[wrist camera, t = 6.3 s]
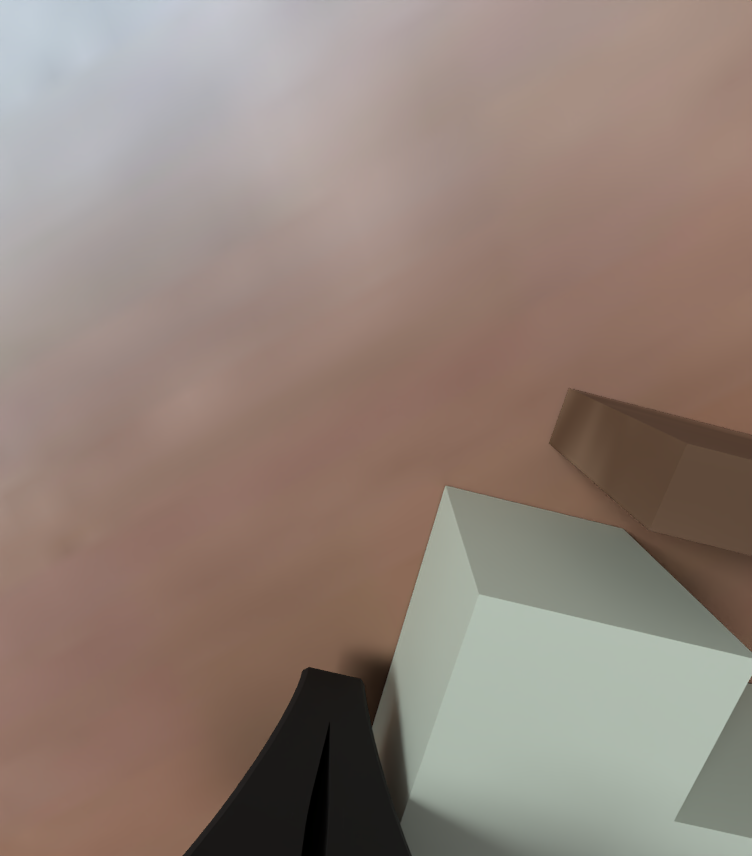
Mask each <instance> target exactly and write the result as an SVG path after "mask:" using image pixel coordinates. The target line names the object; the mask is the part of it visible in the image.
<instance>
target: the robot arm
mask: <svg viewBox="0 0 752 856" xmlns="http://www.w3.org/2000/svg"><path fill="white" fill-rule="evenodd" d="M183 856H412V855H411V852H410V850H409V847H408V844H407V842H406V839H405V836H404V834H403V831H402V828H401V825H400V822H399V819H398V816H397V813H396V810H395V808H394V805H393V801H392V798H391V795H390V792H389V789H388V786H387V782H386V779H385V775H384V772H383V768H382V765H381V761H380V758H379V754H378V750H377V746H376V743H375V739H374V734H373V730H372V726H371V721H370V716H369V711H368V706H367V700H366V693H365V685H364V683H363V682H362V680H361V679H359V678H354V677H350V676H346V675H341V674H337V673H332V672H328V671H324V670H319V669H315V668H311V667H308V668H306V669H304V670H303V671H302V674H301V678H300V681H299V683H298V686H297V688H296V690H295V693H294V695H293V697H292V699H291V701H290V703H289V705H288V707H287V709H286V710H285V712H284V714H283V716H282V718H281V720H280V721H279V723H278V725H277V726H276V728H275V730H274V731H273V733H272V735H271V736H270V738H269V740H268V741H267V743H266V744H265V746H264V748H263V749H262V751H261V752H260V754H259V756H258V757H257V758H256V760H255V761H254V763H253V764H252V766H251V767H250V769H249V770H248V771H247V773H246V774H245V776H244V777H243V779H242V780H241V782H240V783H239V784H238V786H237V787H236V789H235V790H234V792H233V793H232V794H231V796H230V797H229V798H228V800H227V801H226V802H225V804H224V805H223V806H222V808H221V809H220V810H219V812H218V813H217V814H216V815H215V817H214V818H213V819H212V821H211V822H210V823H209V824H208V826H207V827H206V828H205V829H204V831H203V832H202V833H201V834H200V836H199V837H198V838H197V839H196V841H195V842H194V843H193V844H192V845H191V847H190V848H189V849H188V850H187V851H186V853H185V854H184V855H183Z"/></svg>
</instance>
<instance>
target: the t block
mask: <svg viewBox="0 0 752 856" xmlns="http://www.w3.org/2000/svg"><path fill="white" fill-rule="evenodd" d="M751 676H752V652H751V651H750V650H749V649H748V648H746V647H745V646H744V645H743V644H742V643H741V642H740V641H739V640H738V639H737V638H736V637H735V636H734V635H733V634H732V633H731V632H730V631H729V630H728V629H727V628H726V627H725V626H724V625H723V624H722V623H721V622H719V621H718V620H717V619H716V618H715V617H714V616H713V615H712V614H711V613H710V612H709V611H708V610H707V609H706V608H705V607H704V606H703V605H702V604H701V603H700V602H699V601H698V600H697V599H696V598H695V597H693V596H692V595H691V594H690V593H689V592H688V591H687V590H686V589H685V588H684V587H683V586H682V585H681V584H680V583H679V582H678V581H677V580H676V579H675V578H674V577H673V576H672V575H671V574H670V573H669V572H668V571H666V570H665V569H664V568H663V567H662V566H661V565H660V564H659V563H658V562H657V561H656V560H655V559H654V558H653V557H652V556H651V555H650V554H649V553H648V552H647V551H646V550H645V549H644V548H643V547H642V546H640V545H639V544H638V543H637V542H636V541H635V540H634V539H633V538H632V537H631V536H630V535H629V534H628V533H627V532H626V531H625V530H624V529H622V528H618V527H614V526H610V525H606V524H602V523H598V522H593V521H589V520H585V519H581V518H577V517H573V516H569V515H565V514H561V513H556V512H552V511H548V510H544V509H540V508H536V507H532V506H528V505H524V504H519V503H515V502H511V501H507V500H503V499H499V498H495V497H491V496H486V495H482V494H478V493H474V492H470V491H466V490H462V489H458V488H454V487H449V486H445V489H444V492H443V495H442V499H441V502H440V505H439V509H438V512H437V515H436V518H435V522H434V525H433V528H432V532H431V535H430V538H429V542H428V545H427V548H426V551H425V555H424V558H423V561H422V565H421V568H420V571H419V574H418V578H417V581H416V584H415V588H414V591H413V594H412V598H411V601H410V604H409V607H408V611H407V614H406V617H405V621H404V624H403V627H402V631H401V634H400V637H399V640H398V644H397V647H396V650H395V654H394V657H393V660H392V663H391V667H390V670H389V673H388V677H387V680H386V683H385V687H384V690H383V693H382V696H381V700H380V703H379V706H378V710H377V713H376V716H375V720H374V723H373V726H372V730H373V734H374V739H375V743H376V746H377V750H378V754H379V758H380V761H381V765H382V768H383V772H384V775H385V779H386V782H387V786H388V789H389V792H390V795H391V798H392V801H393V805H394V808H395V810H396V813H397V816H398V819H399V822H400V825H401V828H402V831H403V834H404V836H405V839H406V842H407V844H408V847H409V850H410V852H411V855H412V856H752V684H750V683H748V681H749V679H750V678H751Z"/></svg>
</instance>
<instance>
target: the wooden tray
mask: <svg viewBox="0 0 752 856" xmlns="http://www.w3.org/2000/svg"><path fill="white" fill-rule="evenodd" d="M549 443H550V444H551V445H552V446H553V447H554V448H555V449H556V450H558V451H559V452H560V453H561V454H562V455H563V456H564V457H566V458H567V459H568V460H569V461H570V462H571V463H572V464H574V465H575V466H576V467H577V468H578V469H579V470H580V471H582V472H583V473H584V474H585V475H586V476H587V477H588V478H590V479H591V480H592V481H593V482H594V483H595V484H597V485H598V486H599V487H600V488H601V489H602V490H603V491H605V492H606V493H607V494H608V495H609V496H610V497H611V498H613V499H614V500H615V501H616V502H617V503H618V504H619V505H621V506H622V507H623V508H624V509H625V510H626V511H627V512H629V513H630V514H631V515H632V516H633V517H634V518H635V519H637V520H638V521H639V522H640V523H641V524H642V525H643V526H645V527H646V528H647V529H648V530H649V531H653V532H658V533H662V534H666V535H670V536H674V537H678V538H682V539H686V540H690V541H694V542H698V543H702V544H706V545H710V546H714V547H718V548H722V549H726V550H730V551H734V552H738V553H742V554H746V555H750V556H752V435H750V434H746V433H742V432H738V431H734V430H730V429H726V428H722V427H718V426H715V425H711V424H707V423H703V422H699V421H695V420H691V419H687V418H684V417H680V416H676V415H672V414H668V413H664V412H660V411H656V410H652V409H649V408H645V407H641V406H637V405H633V404H629V403H625V402H621V401H617V400H614V399H610V398H606V397H602V396H598V395H594V394H590V393H586V392H583V391H579V390H575V389H571V388H569V389H568V392H567V395H566V397H565V400H564V403H563V406H562V409H561V411H560V414H559V417H558V420H557V423H556V425H555V428H554V431H553V434H552V436H551V439H550V442H549Z"/></svg>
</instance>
